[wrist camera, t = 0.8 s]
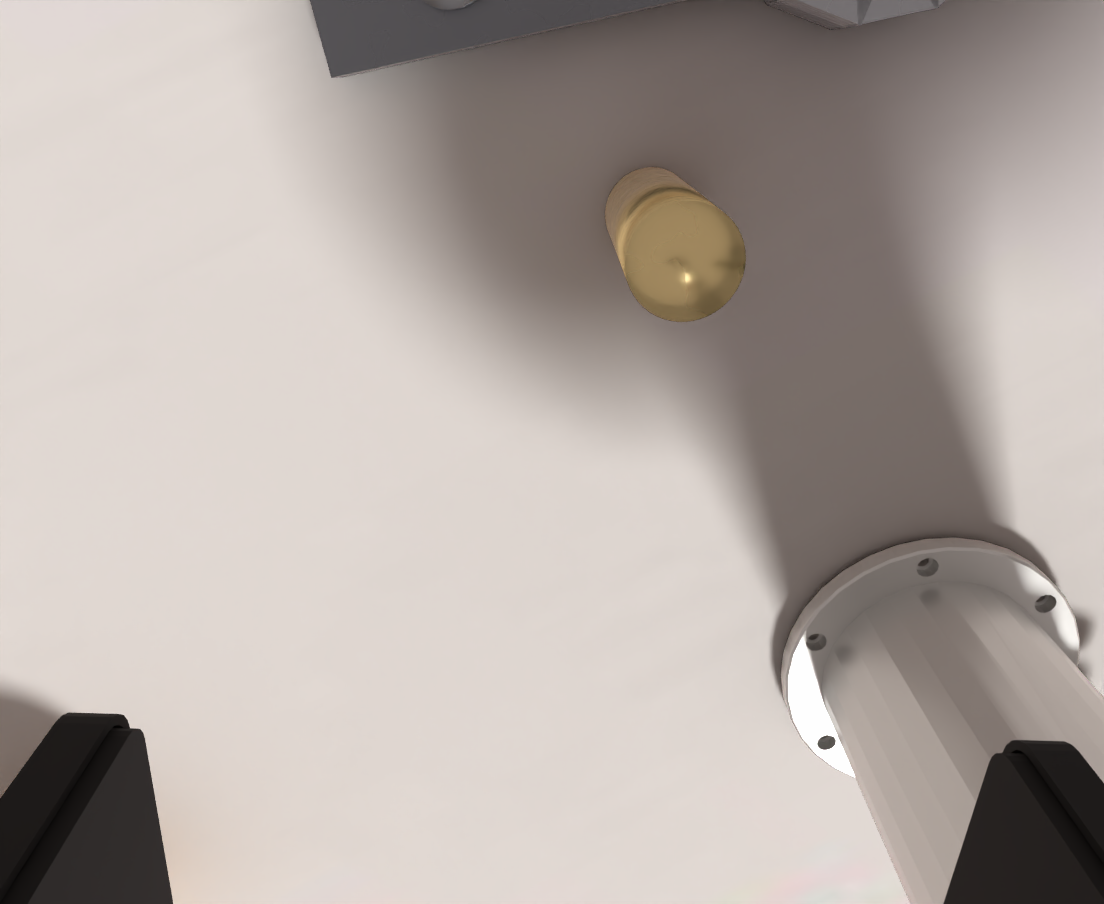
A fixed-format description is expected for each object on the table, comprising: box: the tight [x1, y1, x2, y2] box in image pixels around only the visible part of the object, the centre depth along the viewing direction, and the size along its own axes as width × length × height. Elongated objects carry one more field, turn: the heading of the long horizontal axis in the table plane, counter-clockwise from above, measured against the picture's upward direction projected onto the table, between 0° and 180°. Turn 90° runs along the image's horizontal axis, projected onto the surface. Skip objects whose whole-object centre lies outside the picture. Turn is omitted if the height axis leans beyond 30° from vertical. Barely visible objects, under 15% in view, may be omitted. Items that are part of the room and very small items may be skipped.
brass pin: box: [605, 167, 746, 322], centre depth 28 cm, size 3×3×9 cm
